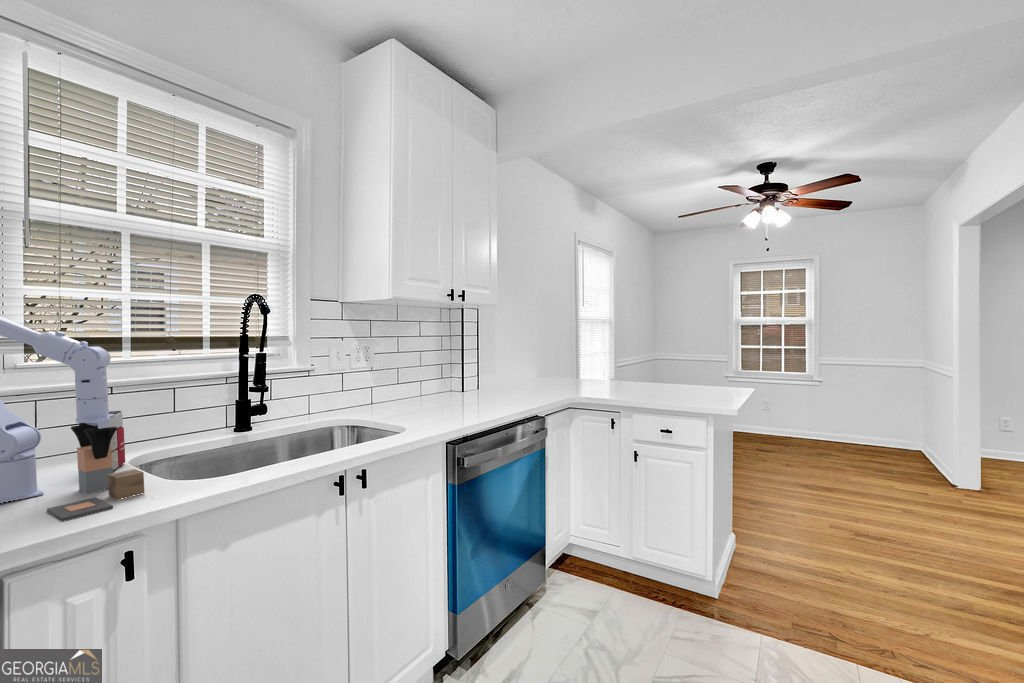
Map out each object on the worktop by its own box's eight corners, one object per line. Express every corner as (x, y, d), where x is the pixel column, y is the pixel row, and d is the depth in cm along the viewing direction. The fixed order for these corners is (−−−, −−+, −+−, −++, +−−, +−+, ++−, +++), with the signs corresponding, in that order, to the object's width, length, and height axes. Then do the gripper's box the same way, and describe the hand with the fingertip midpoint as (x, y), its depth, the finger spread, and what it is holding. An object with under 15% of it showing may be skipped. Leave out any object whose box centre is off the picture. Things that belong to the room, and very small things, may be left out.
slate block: (79, 490, 116) (78, 469, 116) (105, 484, 120) (104, 464, 120) (86, 494, 113) (85, 472, 113) (113, 487, 117) (112, 466, 117)
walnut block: (109, 496, 111) (107, 474, 111) (135, 490, 115) (134, 468, 115) (117, 500, 108) (116, 477, 108) (144, 494, 112) (143, 472, 112)
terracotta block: (77, 469, 116) (76, 447, 116) (104, 464, 120) (103, 443, 120) (85, 472, 113) (84, 450, 113) (112, 466, 117) (111, 445, 117)
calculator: (112, 473, 129) (109, 416, 129) (91, 476, 128) (88, 417, 127) (127, 463, 139) (124, 410, 139) (108, 465, 138) (105, 411, 137)
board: (46, 511, 102) (46, 507, 102) (95, 499, 109) (95, 496, 109) (62, 521, 96) (62, 517, 96) (112, 508, 103) (112, 504, 103)
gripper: (124, 397, 115) (127, 455, 116) (102, 394, 124) (104, 448, 124) (86, 402, 110) (89, 463, 110) (65, 398, 118) (67, 455, 118)
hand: (94, 456), depth 117 cm, fingers open, 7 cm apart
